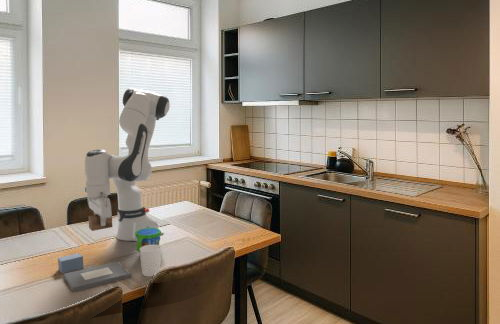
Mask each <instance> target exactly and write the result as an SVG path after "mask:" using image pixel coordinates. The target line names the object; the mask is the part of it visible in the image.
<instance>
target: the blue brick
mask: <svg viewBox="0 0 500 324" xmlns="http://www.w3.org/2000/svg"><path fill="white" fill-rule="evenodd" d="M83 256H84V255H83V254H81V253H80V252H78V253H74V254H69V255H65V256H61V257H57V265H58V271H59V272H60V273H61V274H65V273H70V272H74V271H78V270H83V269H84V257H83Z"/></svg>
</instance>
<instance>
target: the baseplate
mask: <svg viewBox="0 0 500 324" xmlns="http://www.w3.org/2000/svg"><path fill="white" fill-rule="evenodd" d="M130 277H131V273H130V272H129V271H128V270H127V269H126V268H125V267H124V266H123V265H122V264H121V263H120V262H118V261H114V262H109V263H105V264H100V265H97V266H92V267H88V268H82V269H78V270H74V271H70V272H66V273H63V278H64V280H65V281H66V283H67V285H68V286H69V288H70V289H71V290H72V292H73V293H74V291H75V292H78V291H82V290H85V289H90V288H94V287H98V286H102V285H104V284H110V283H113V282H117V281H122V280H125V279H129V278H130Z"/></svg>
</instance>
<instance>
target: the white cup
mask: <svg viewBox="0 0 500 324" xmlns="http://www.w3.org/2000/svg"><path fill="white" fill-rule="evenodd" d="M161 255H162V247H161V245H160V244H159V245H145V246H143V247H141V248H140V252H139V258H140V267H141V275H143V276H145V277H154V276H153V275H154V274H155V273H157V272H158V271H160V272H161V263H162V262H161V259H162V258H161V257H162V256H161Z"/></svg>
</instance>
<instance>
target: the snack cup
mask: <svg viewBox="0 0 500 324" xmlns="http://www.w3.org/2000/svg"><path fill="white" fill-rule="evenodd" d="M135 235H136V237H137V241H136V249H135V250H136V251H137V253H140V248H141V247H143V246H145V245H159V246H160V241H161V230H160V229H157V228H144V229H140V230H138V231H136V233H135Z"/></svg>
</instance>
